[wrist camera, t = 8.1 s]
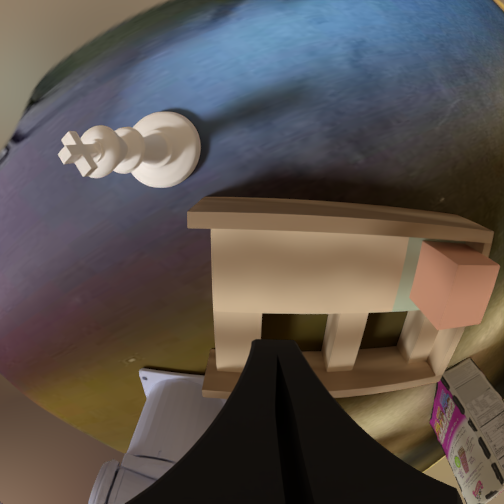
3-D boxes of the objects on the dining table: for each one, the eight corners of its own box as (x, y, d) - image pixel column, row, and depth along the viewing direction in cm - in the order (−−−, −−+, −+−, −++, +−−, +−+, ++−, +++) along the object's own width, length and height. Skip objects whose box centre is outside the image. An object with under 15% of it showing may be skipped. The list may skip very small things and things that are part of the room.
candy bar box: (458, 406, 26) (502, 492, 10) (428, 422, 26) (467, 515, 11) (472, 353, 22) (542, 455, 7) (437, 372, 23) (501, 490, 7)
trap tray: (418, 349, 21) (439, 381, 17) (211, 356, 22) (202, 396, 17) (457, 214, 17) (494, 231, 13) (204, 196, 17) (186, 211, 13)
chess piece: (173, 96, 15) (85, 49, 6) (216, 157, 16) (163, 164, 7) (115, 144, 16) (3, 153, 7) (155, 202, 17) (63, 258, 8)
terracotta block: (450, 295, 17) (480, 323, 13) (409, 297, 17) (437, 330, 13) (464, 243, 15) (500, 265, 11) (422, 240, 15) (458, 264, 11)
